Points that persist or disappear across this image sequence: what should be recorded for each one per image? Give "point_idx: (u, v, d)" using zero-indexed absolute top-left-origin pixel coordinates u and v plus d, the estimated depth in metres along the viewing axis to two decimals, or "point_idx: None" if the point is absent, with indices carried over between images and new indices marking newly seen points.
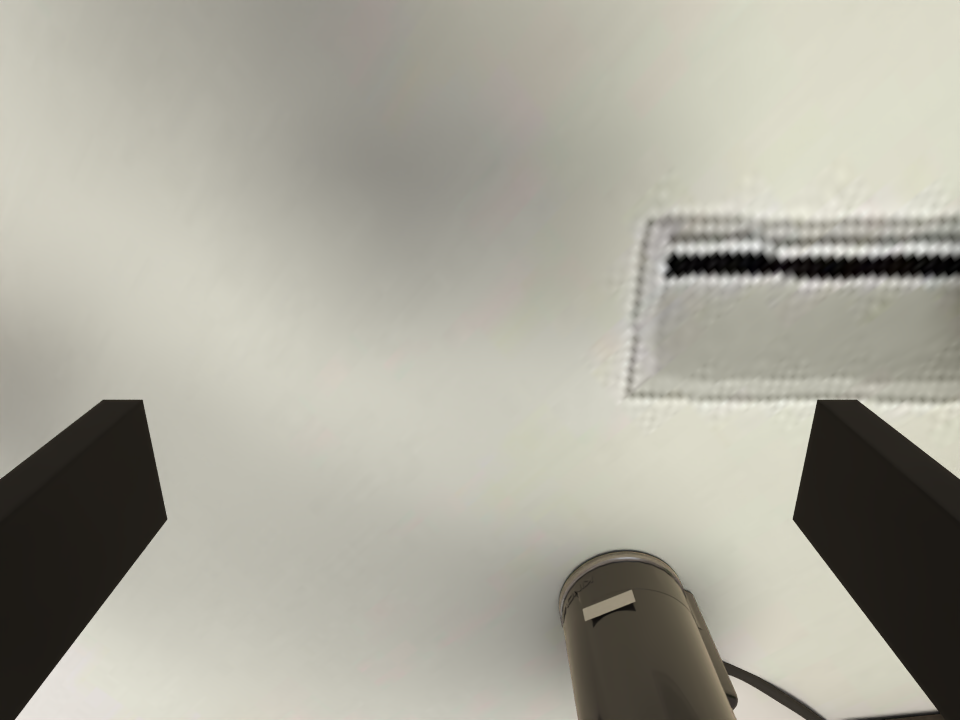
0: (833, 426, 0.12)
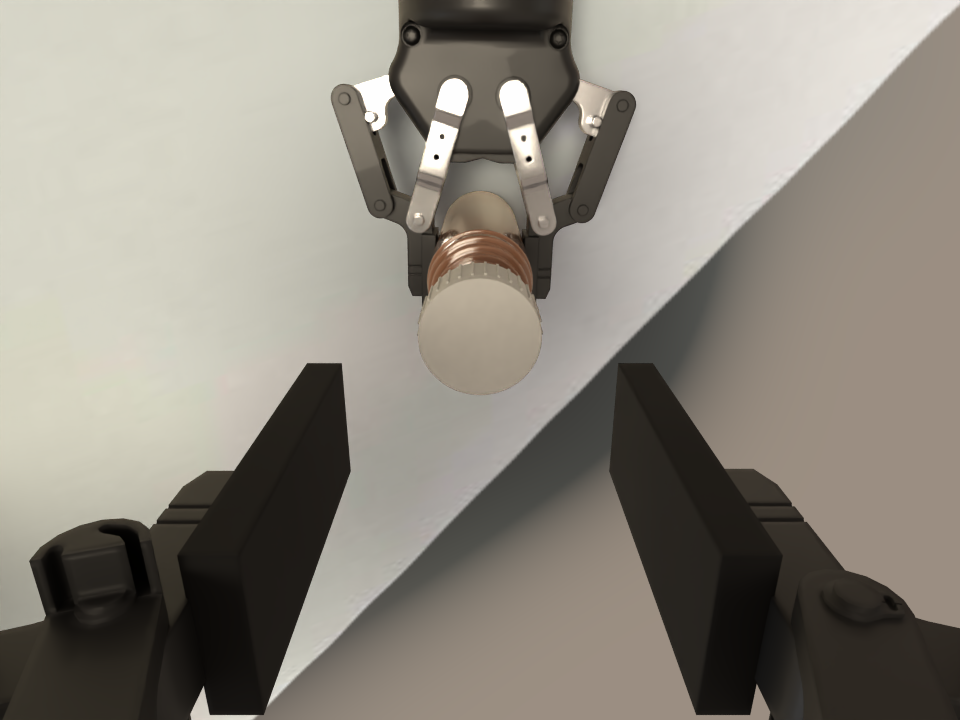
0: (624, 385, 0.14)
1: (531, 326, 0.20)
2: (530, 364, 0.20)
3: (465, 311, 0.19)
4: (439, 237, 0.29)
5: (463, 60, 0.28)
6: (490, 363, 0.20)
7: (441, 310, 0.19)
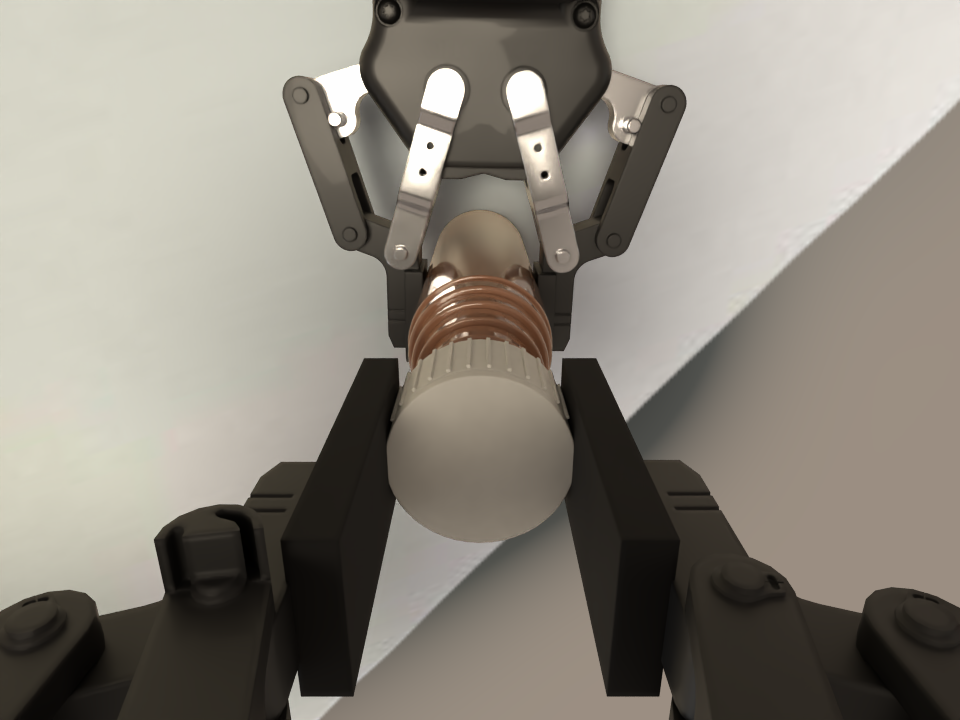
0: (565, 379, 0.14)
1: (560, 446, 0.13)
2: (557, 500, 0.13)
3: (458, 424, 0.12)
4: (427, 277, 0.22)
5: (458, 44, 0.21)
6: (496, 499, 0.13)
7: (420, 423, 0.12)
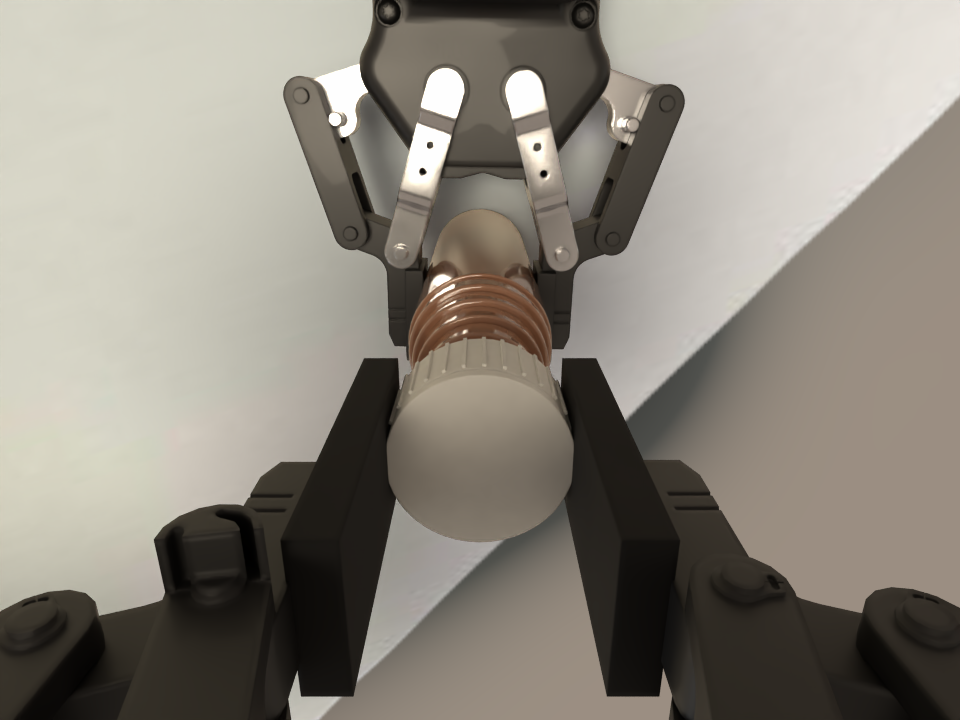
0: (565, 379, 0.14)
1: (408, 425, 0.12)
2: (453, 384, 0.12)
3: (463, 503, 0.13)
4: (427, 276, 0.23)
5: (457, 44, 0.21)
6: (497, 427, 0.12)
7: (488, 525, 0.13)
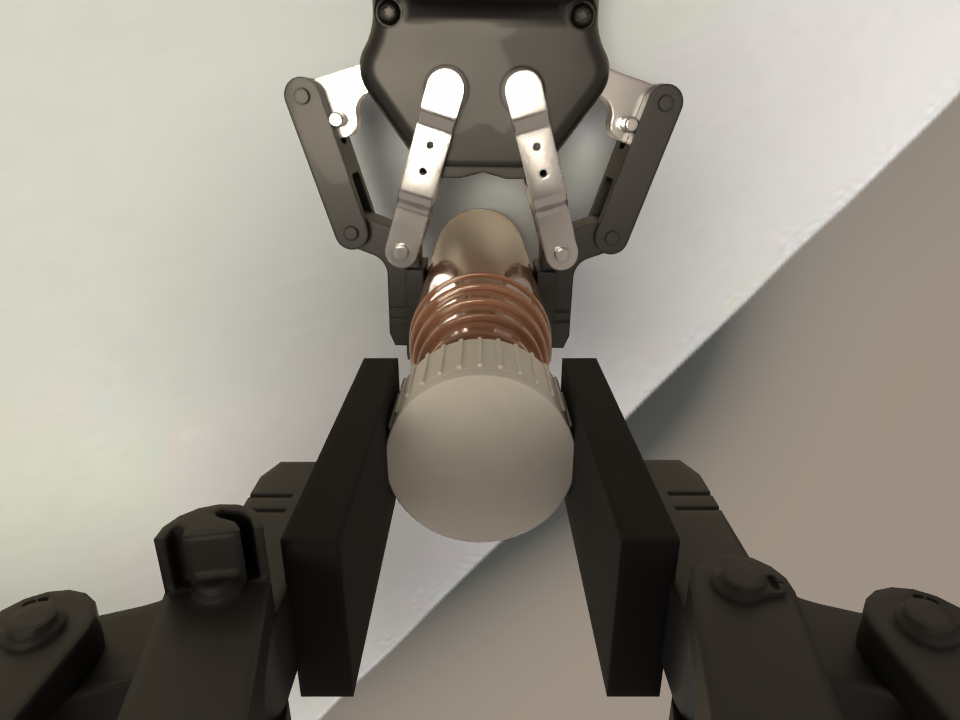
0: (565, 379, 0.14)
1: (499, 529, 0.13)
2: (439, 529, 0.13)
3: (525, 445, 0.13)
4: (427, 275, 0.23)
5: (457, 44, 0.21)
6: (440, 477, 0.13)
7: (528, 411, 0.12)
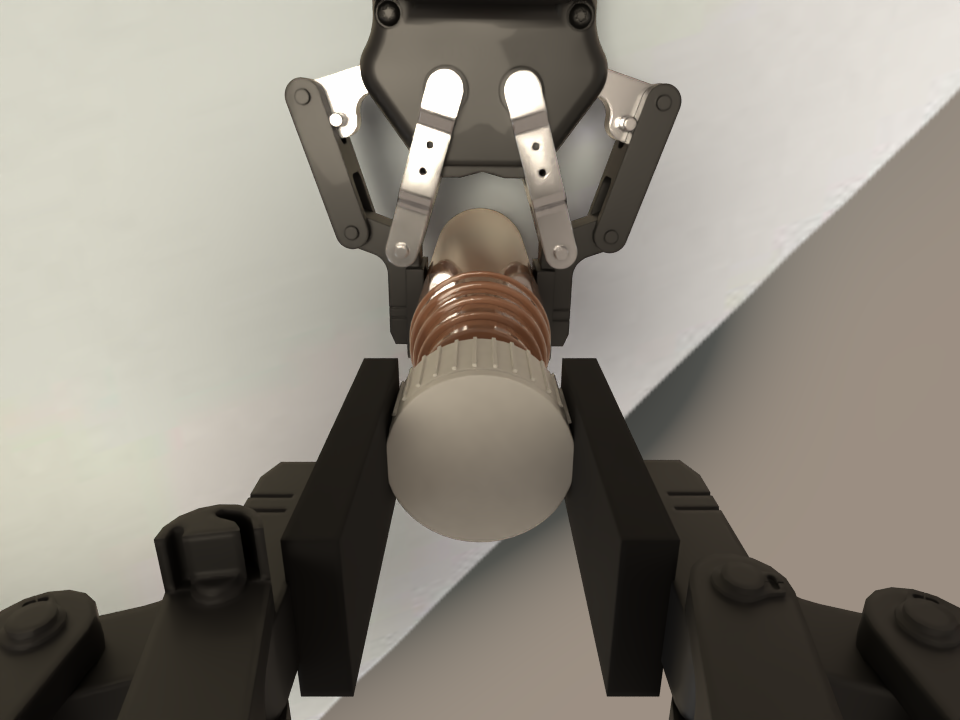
0: (565, 379, 0.14)
1: (524, 399, 0.12)
2: (567, 441, 0.13)
3: (433, 448, 0.13)
4: (427, 274, 0.23)
5: (456, 45, 0.21)
6: (520, 478, 0.13)
7: (406, 470, 0.13)
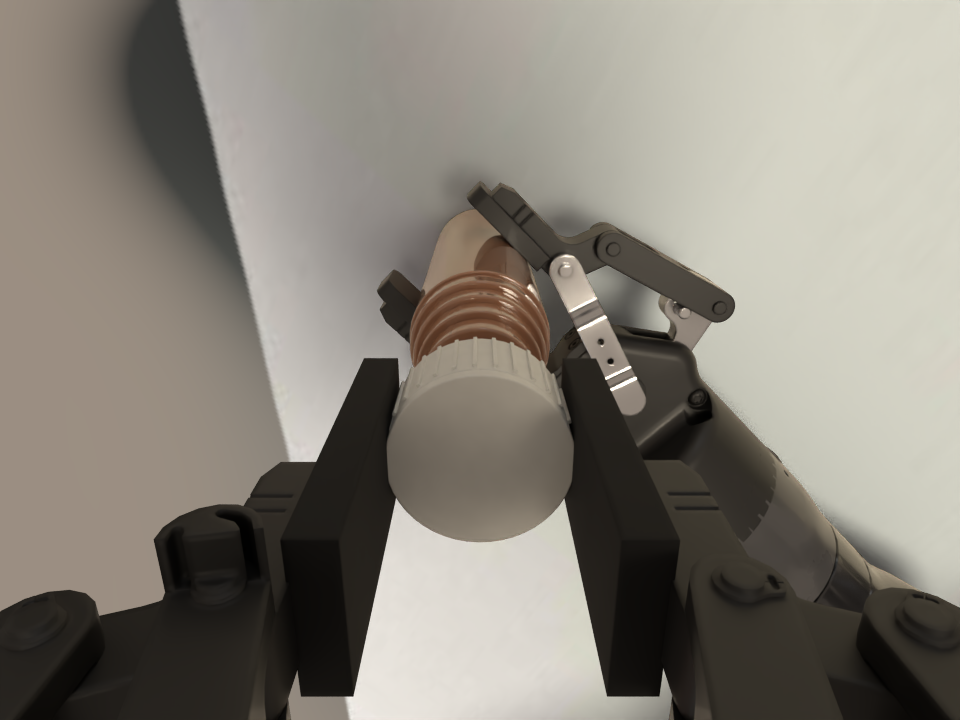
0: (565, 379, 0.14)
1: (524, 400, 0.12)
2: (567, 441, 0.13)
3: (433, 448, 0.13)
4: None
5: (641, 420, 0.26)
6: (520, 478, 0.13)
7: (406, 470, 0.13)
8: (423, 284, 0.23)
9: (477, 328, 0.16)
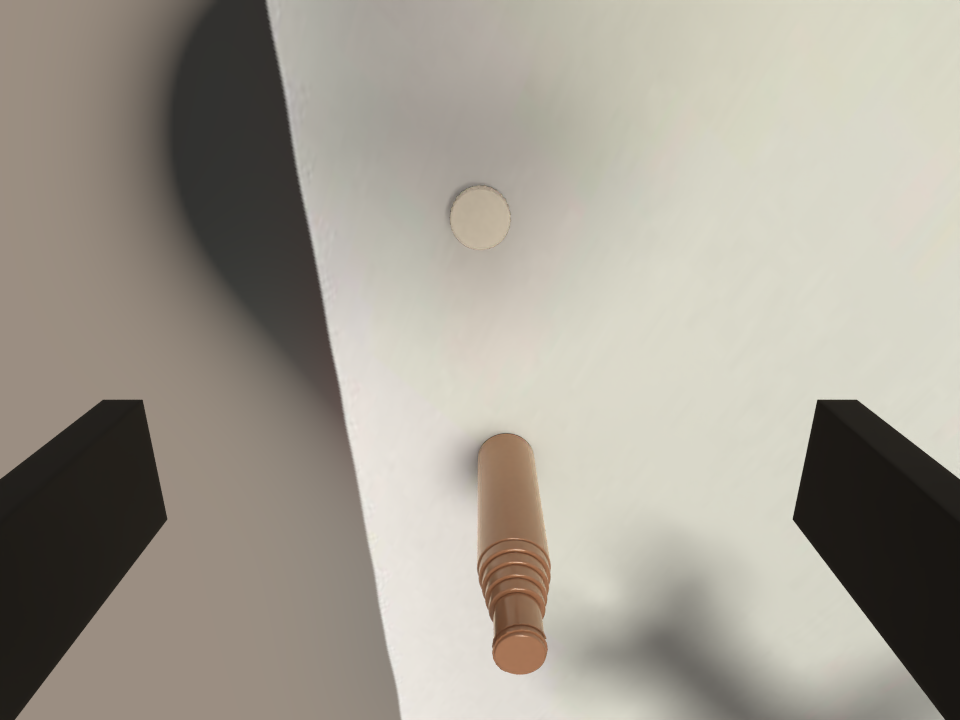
0: (833, 426, 0.12)
1: (493, 198, 0.40)
2: (507, 212, 0.41)
3: (465, 214, 0.41)
4: (543, 519, 0.41)
5: None
6: (492, 225, 0.41)
7: (457, 222, 0.41)
8: (480, 520, 0.40)
9: (516, 588, 0.34)
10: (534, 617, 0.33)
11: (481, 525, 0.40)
